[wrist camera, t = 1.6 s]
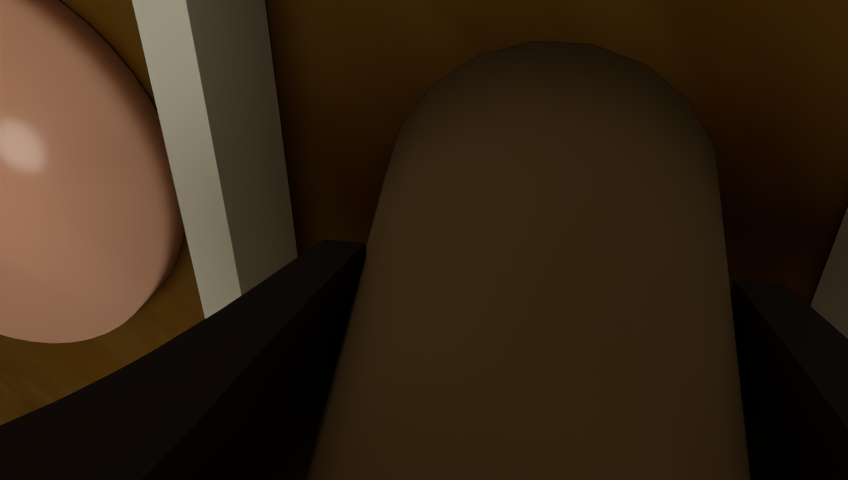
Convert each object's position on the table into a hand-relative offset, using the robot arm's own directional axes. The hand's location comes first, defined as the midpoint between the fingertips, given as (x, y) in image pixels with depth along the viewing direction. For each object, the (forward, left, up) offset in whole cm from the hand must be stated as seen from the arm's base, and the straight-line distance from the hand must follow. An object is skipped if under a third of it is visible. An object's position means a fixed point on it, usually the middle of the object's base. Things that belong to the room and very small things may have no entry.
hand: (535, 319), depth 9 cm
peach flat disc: (0, +12, -3) cm, 12 cm away
